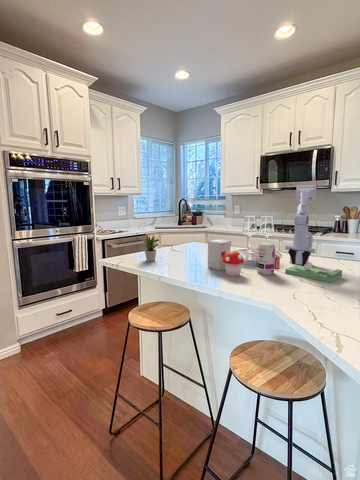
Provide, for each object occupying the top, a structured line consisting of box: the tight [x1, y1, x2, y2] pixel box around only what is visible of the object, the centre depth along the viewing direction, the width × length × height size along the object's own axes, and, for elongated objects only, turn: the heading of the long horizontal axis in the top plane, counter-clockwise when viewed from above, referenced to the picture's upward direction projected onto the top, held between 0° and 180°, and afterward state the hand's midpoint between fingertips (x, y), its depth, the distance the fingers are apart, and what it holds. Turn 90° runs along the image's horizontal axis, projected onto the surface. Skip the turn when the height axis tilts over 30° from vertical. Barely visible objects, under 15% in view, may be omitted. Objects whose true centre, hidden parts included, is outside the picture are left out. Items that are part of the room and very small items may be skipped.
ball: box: [304, 263, 313, 270], centre depth 135 cm, size 4×4×4 cm
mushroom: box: [222, 249, 245, 277], centre depth 136 cm, size 11×11×12 cm
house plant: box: [140, 234, 162, 262], centre depth 166 cm, size 14×14×16 cm
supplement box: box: [207, 238, 232, 271], centre depth 149 cm, size 9×9×15 cm
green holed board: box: [284, 264, 343, 284], centre depth 134 cm, size 22×12×4 cm, turn 42°
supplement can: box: [256, 242, 276, 276], centre depth 138 cm, size 8×8×15 cm
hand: (298, 265), depth 139 cm, fingers open, 5 cm apart
